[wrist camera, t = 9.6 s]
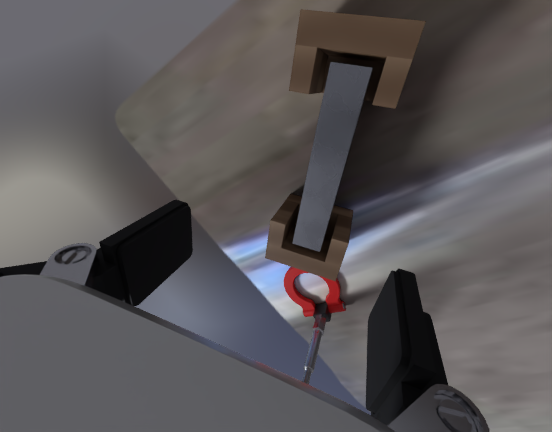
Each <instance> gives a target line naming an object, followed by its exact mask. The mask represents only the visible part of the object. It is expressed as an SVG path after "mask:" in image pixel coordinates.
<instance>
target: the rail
mask: <svg viewBox="0 0 552 432" xmlns="http://www.w3.org/2000/svg"><path fill="white" fill-rule="evenodd" d="M372 69H373V68H371V67H364V66H357V65H350V64H342V63H335V62H330V67H329V72H328V77H327V81H326V86H325V91H324V96H323V100H322V105H321V110H320V115H319V119H318V124H317V129H316V134H315V138H314V143H313V148H312V153H311V157H310V162H309V167H308V172H307V176H306V181H305V186H304V191H303V195H302V200H301V205H300V210H299V214H298V219H297V224H296V229H295V233H294V238H293V244H296V245H299V246H302V247H306V248H309V249H312V250H315V251H318V252H320V250H321V247H322V243H323V240H324V237H325V234H326V231H327V227H328V224H329V220H330V217H331V213H332V210H333V206H334V203H335V200H336V196H337V193H338V189H339V186H340V182H341V179H342V175H343V172H344V168H345V165H346V161H347V158H348V154H349V151H350V147H351V144H352V140H353V137H354V134H355V130H356V127H357V123H358V120H359V116H360V113H361V109H362V106H363V102H364V99H365V95H366V92H367V88H368V85H369V81H370V78H371V74H372Z"/></svg>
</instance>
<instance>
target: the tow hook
mask: <svg viewBox="0 0 552 432" xmlns="http://www.w3.org/2000/svg"><path fill="white" fill-rule="evenodd" d="M302 273H309V272H306V271H303V270H300V269H297V268H294V267H290V268H289V270H288V271H287V273H286V274H285V278H284V287H285V290H286V292H287V294H288V295H289V297H290V298H291V299H292V300H293V301H294V302H295V303H297V304H298V305H300V306H301V307H302V308H303V314H304V316H305V317H308V316H314V318H315V323H314V326H313V335H312V339H311V343H310V346H309V350H308V354H307V358H306V361H305V365H304V370H305V372H304V376H303V380H302V382H304V383H306V384H309V380H310V376H311V373H313V371H314V367H315V362H316V358H317V354H318V349H319V345H320V340H321V336H322V335H323V333H324V328H325V324H326V322H329V321H330V319H331V314H332V313H334V312H341V311H345V310H346V306H345V303H344V301H341V300H340V298H339V297H340V284H339V281H338V279H337V278H336V281H333V280H330V279H327V278H324V277H321V276H320V277H321V278H323V279H324V280H325V281H326V283H327V285H328V287H329V294H328V295H327V296H326V302H327V303H323V304H318V305H315V303H314V302H313V300H311V299H308V298H306V297H304V296H302V295H301V294H300V293H299V292H298V291H297V289H296V287H295V284H294V280H295V278H296V276H298V275H299V274H302Z"/></svg>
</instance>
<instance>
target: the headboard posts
mask: <svg viewBox="0 0 552 432" xmlns="http://www.w3.org/2000/svg"><path fill="white" fill-rule="evenodd" d="M425 22H426V21H420V20H409V19H398V18H387V17H376V16H365V15H355V14H344V13H333V12H322V11H311V10H300V17H299V24H298V31H297V38H296V45H295V52H294V59H293V66H292V73H291V80H290V87H289V91H294V92H300V93H305V94H313V93H324V91H325V86H326V81H327V77H328V72H329V67H330V62H335V63H342V64H350V65H357V66H364V67H371V68H373V69H372V74H371V78H370V81H369V85H368V88H367V92H366V95H365V99H364V100H369V101H372V105H376V106H382V107H388V108H394V109H396V106H397V103H398V100H399V97H400V94H401V91H402V88H403V86H404V83H405V80H406V77H407V74H408V71H409V68H410V65H411V63H412V60H413V57H414V54H415V51H416V48H417V45H418V42H419V40H420V37H421V34H422V31H423V28H424V25H425ZM301 200H302V197H301V196H297V195H293V194H290V195H289V197H288V198H287V199H286V201H285V202H284V203H283V205H282V206H281V207H280V209H279V210H278V211H277V213H276V214H275V215H274V216H273V218H272V219H271V221H270V228H269V235H268V242H267V249H266V256H265V258H267V259H270V260H273V261H276V262H279V263H282V264H285V265H288V266H291V267H294V268H297V269H300V270H303V271H306V272H309V273H312V274H315V275H318V276H321V277H324V278H327V279H330V280H333V281H336V278H337V275H338V272H339V270H340V267H341V264H342V261H343V258H344V255H345V252H346V249H347V247H348V244H349V237H350V230H351V224H352V217H353V210H350V209H346V208H342V207H339V206H335V205H334V206H333V210H332V213H331V217H330V220H329V224H328V227H327V231H326V234H325V237H324V240H323V243H322V247H321V250H320V252H318V251H315V250H312V249H309V248H306V247H302V246H299V245H296V244H293V238H294V233H295V229H296V224H297V219H298V214H299V210H300V205H301Z"/></svg>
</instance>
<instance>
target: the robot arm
mask: <svg viewBox="0 0 552 432" xmlns="http://www.w3.org/2000/svg"><path fill="white" fill-rule="evenodd" d="M99 243H100V247H101V248H99V249H97V250H96V248H95V246H93V245H91V244H87V243H78V244H72V245H68V246H65V247H63V248H61V249H59V250H57V251H56V252H54V253H53V254H52V255H51V256H50V258H49V259H48V261H45V262H39V263H33V264H25V265H19V266H12V267H5V268H0V432H489V428H488V425H487V423H486V420H485V418H484V417H483V415H482V414H481V412H480V410H479V409H478V408H477V407H476V406H475V404H474V403H473V402H472V401H471V400H470V399H469V398H468V397H466V396H465V395H464V394H463V393H462V392H460V391H458V390H457V389H455V388H453V387H451V386H448V383H447V379H446V375H445V370H444V366H443V362H442V358H441V354H440V350H439V346H438V342H437V338H436V334H435V330H434V326H433V322H432V319H431V316H430V315H429V314H428V313H425V312H423V309H422V305H421V300H420V295H419V291H418V286H417V282H416V277H415V274H414V273H411V272H408V271H405V270H402V269H398V270H397V271H391V273H390V274H389V277H388V279H387V281H386V283H385V285H384V287H383V289H382V291H381V293H380V295H379V297H378V299H377V301H376V303H375V305H374V307H373V309H372V311H371V313H370V316H369V319H368V340H367V379H366V409H367V410H369V411H371V415H369V414H367V413H365V412H363V411H361V410H359V409H357V408H356V407H353V406H352V405H350V404H348V403H346V402H344V401H342V400H340V399H338V398H336V397H334V396H331V395H329V394H327V393H325V392H323V391H321V390H319V389H316V388H314V387H312V386H310V385H308V384H306V383H304V382H302V381H300V380H297V379H295V378H293V377H291V376H289V375H286V374H284V373H282V372H279V371H278V370H275V369H273V368H271V367H268V366H266V365H264V364H262V363H260V362H258V361H256V360H253V359H251V358H249V357H247V356H244V355H242V354H240V353H238V352H235V351H233V350H231V349H229V348H227V347H224V346H222V345H220V344H218V343H215V342H213V341H211V340H209V339H207V338H204V337H202V336H199V335H198V334H195V333H193V332H191V331H189V330H186V329H184V328H182V327H180V326H177V325H175V324H173V323H170V322H168V321H166V320H163V319H162V318H159V317H157V316H155V315H152V314H150V313H148V312H146V311H143V310H141V309H139V308H136V307H134V306H137V305H139V304H140V303H141V302H142V301H143V300H144V299H145V298H146V297H147V296H149V295H150V294H151V293H152V292H153V291H154V290H155V289H156V288H157V287H158V286H159V285H160V284H162V283H163V282H164V281H165V280H166V279H167V278H168V277H169V276H170V275H171V274H172V273H174V272H175V271H176V270H177V269H178V268H179V267H180V266H181V265H182V264H183V263H184V262H185V261H186V260H188V259H189V258H190V256H191V255H192V250H193V249H192V227H191V209H190V207H189V206H188V204H187V203H185V202H182V201H179V200H173V201H171V202H170V203H168V204H166V205H164V206H163V207H161V208H159V209H157V210H155V211H154V212H152V213H150V214H148V215H147V216H145V217H143V218H141V219H140V220H138V221H136V222H134V223H132V224H131V225H129V226H127V227H125V228H123V229H122V230H120V231H118V232H116V233H115V234H113V235H111V236H109V237H107V238H106V239H104V240H102V241H100V242H99Z"/></svg>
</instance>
